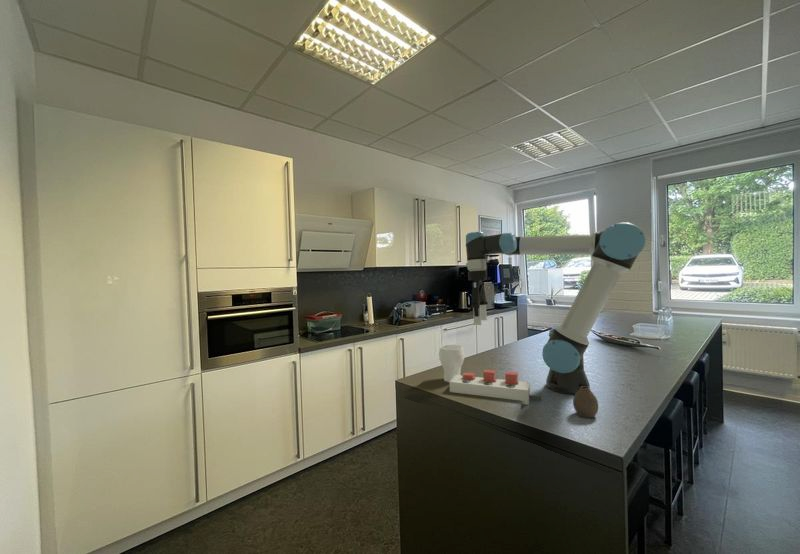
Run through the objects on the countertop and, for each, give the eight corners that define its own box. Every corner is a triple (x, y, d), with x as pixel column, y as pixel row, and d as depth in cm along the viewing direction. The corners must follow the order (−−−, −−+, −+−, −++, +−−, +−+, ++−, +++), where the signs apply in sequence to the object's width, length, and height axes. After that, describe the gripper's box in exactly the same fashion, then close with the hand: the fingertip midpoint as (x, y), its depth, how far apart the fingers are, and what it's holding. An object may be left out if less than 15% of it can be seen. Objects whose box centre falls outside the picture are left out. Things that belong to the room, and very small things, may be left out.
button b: (495, 379, 123) (495, 370, 123) (494, 382, 120) (494, 372, 120) (485, 378, 125) (484, 369, 125) (483, 381, 122) (483, 371, 122)
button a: (517, 381, 120) (517, 372, 120) (517, 384, 117) (516, 374, 117) (506, 380, 121) (506, 371, 121) (505, 383, 119) (505, 373, 119)
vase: (568, 411, 104) (567, 384, 104) (588, 409, 105) (587, 383, 105) (582, 420, 98) (581, 392, 98) (604, 419, 98) (603, 390, 98)
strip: (541, 397, 117) (541, 382, 117) (541, 406, 109) (540, 391, 109) (456, 387, 131) (455, 374, 131) (449, 394, 123) (449, 381, 123)
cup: (465, 386, 131) (463, 350, 131) (439, 386, 133) (437, 349, 133) (465, 378, 141) (464, 344, 141) (441, 378, 143) (439, 344, 143)
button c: (475, 382, 127) (474, 373, 127) (473, 384, 124) (472, 375, 124) (465, 381, 128) (464, 372, 128) (463, 383, 125) (462, 374, 125)
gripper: (473, 271, 144) (477, 318, 143) (460, 270, 121) (464, 327, 120) (490, 270, 141) (494, 318, 140) (481, 269, 118) (485, 326, 117)
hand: (480, 322), depth 130 cm, fingers open, 13 cm apart
